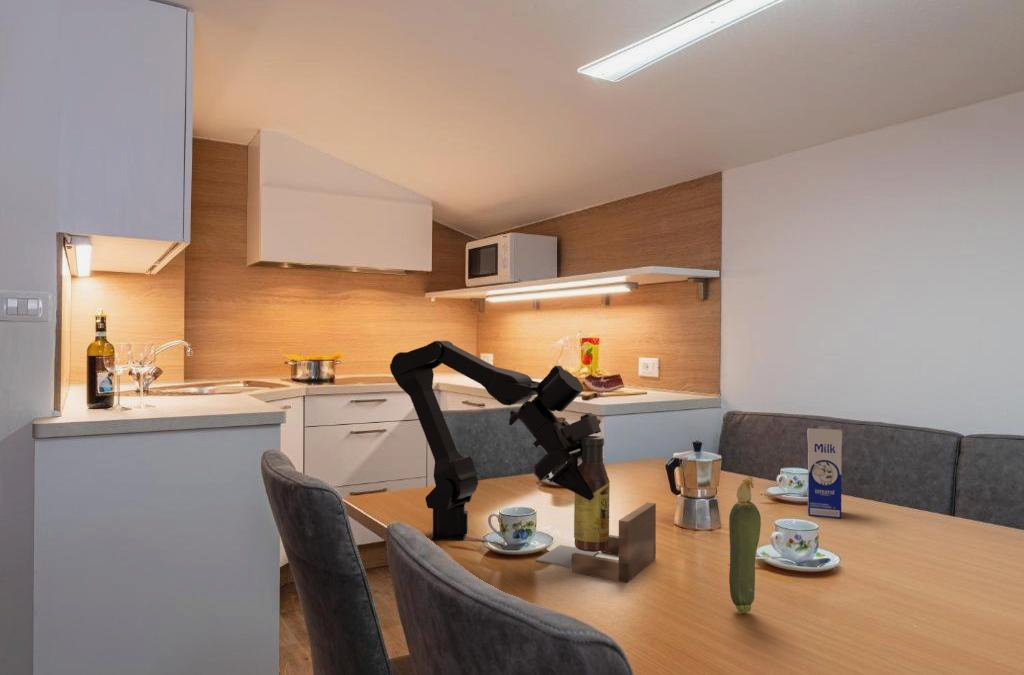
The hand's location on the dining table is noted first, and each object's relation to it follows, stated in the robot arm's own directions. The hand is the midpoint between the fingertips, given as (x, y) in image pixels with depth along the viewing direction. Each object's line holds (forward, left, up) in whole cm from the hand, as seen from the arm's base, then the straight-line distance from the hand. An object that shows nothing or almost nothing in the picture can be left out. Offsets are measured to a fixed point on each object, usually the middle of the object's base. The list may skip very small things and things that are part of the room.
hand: (599, 495), depth 124 cm
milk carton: (+56, +35, -12) cm, 67 cm away
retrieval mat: (-5, +3, -12) cm, 13 cm away
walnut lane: (+3, -1, -12) cm, 12 cm away
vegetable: (+19, -22, -12) cm, 31 cm away
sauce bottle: (-1, +1, -10) cm, 10 cm away
